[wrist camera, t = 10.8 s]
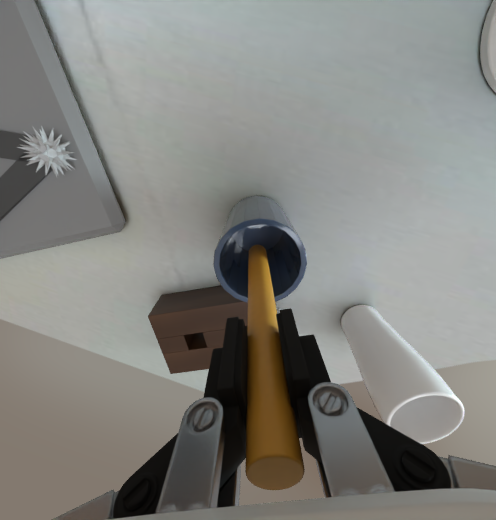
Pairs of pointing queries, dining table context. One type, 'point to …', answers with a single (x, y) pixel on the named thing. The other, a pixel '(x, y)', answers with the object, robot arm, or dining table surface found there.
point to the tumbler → (267, 235)
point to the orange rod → (268, 389)
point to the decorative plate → (45, 146)
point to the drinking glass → (400, 379)
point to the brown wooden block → (194, 325)
